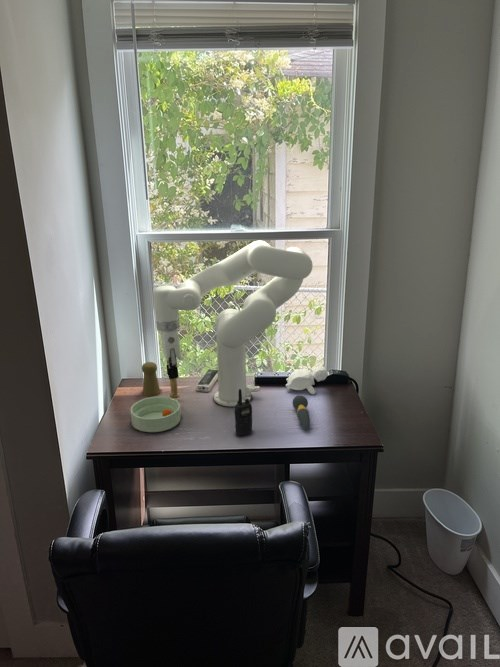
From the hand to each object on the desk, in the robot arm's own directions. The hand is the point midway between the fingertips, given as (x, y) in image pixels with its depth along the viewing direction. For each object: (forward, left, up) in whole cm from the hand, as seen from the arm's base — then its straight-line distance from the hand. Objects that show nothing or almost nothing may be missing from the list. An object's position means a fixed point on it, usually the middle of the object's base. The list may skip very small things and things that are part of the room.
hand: (172, 376), depth 171 cm
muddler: (0, 0, -8) cm, 8 cm away
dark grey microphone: (-37, +24, -10) cm, 45 cm away
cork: (+7, -10, -10) cm, 16 cm away
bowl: (+8, +12, -10) cm, 17 cm away
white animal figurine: (-46, +5, -10) cm, 48 cm away
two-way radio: (-16, +27, -10) cm, 33 cm away
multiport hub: (-14, -11, -10) cm, 21 cm away
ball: (+4, +12, -7) cm, 15 cm away
